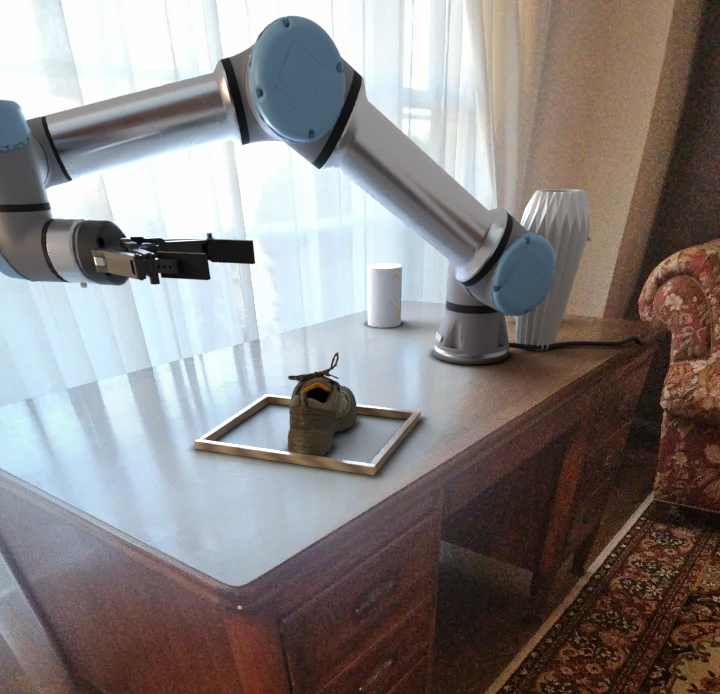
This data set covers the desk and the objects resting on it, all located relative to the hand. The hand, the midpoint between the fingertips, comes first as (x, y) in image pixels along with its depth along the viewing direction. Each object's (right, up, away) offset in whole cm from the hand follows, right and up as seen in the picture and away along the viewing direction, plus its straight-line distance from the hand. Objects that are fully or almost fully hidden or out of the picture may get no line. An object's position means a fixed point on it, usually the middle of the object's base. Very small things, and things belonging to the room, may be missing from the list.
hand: (232, 259), depth 75 cm
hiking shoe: (+11, -19, +13) cm, 25 cm away
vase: (+55, +13, +48) cm, 74 cm away
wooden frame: (+10, -18, +13) cm, 24 cm away
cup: (+23, +28, +66) cm, 75 cm away
